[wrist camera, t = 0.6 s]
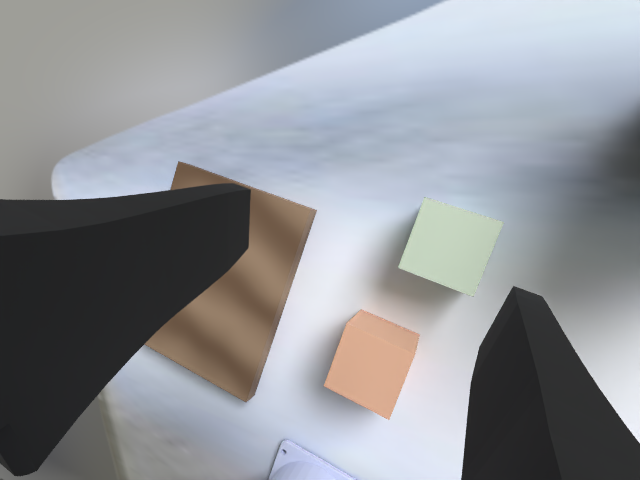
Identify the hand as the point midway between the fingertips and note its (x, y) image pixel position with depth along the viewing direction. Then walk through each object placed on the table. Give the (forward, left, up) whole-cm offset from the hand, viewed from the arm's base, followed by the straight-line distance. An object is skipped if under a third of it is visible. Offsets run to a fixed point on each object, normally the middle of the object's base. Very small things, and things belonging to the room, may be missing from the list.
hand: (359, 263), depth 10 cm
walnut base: (-9, +16, -20) cm, 27 cm away
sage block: (+1, -2, -20) cm, 21 cm away
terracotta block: (-9, 0, -20) cm, 22 cm away
